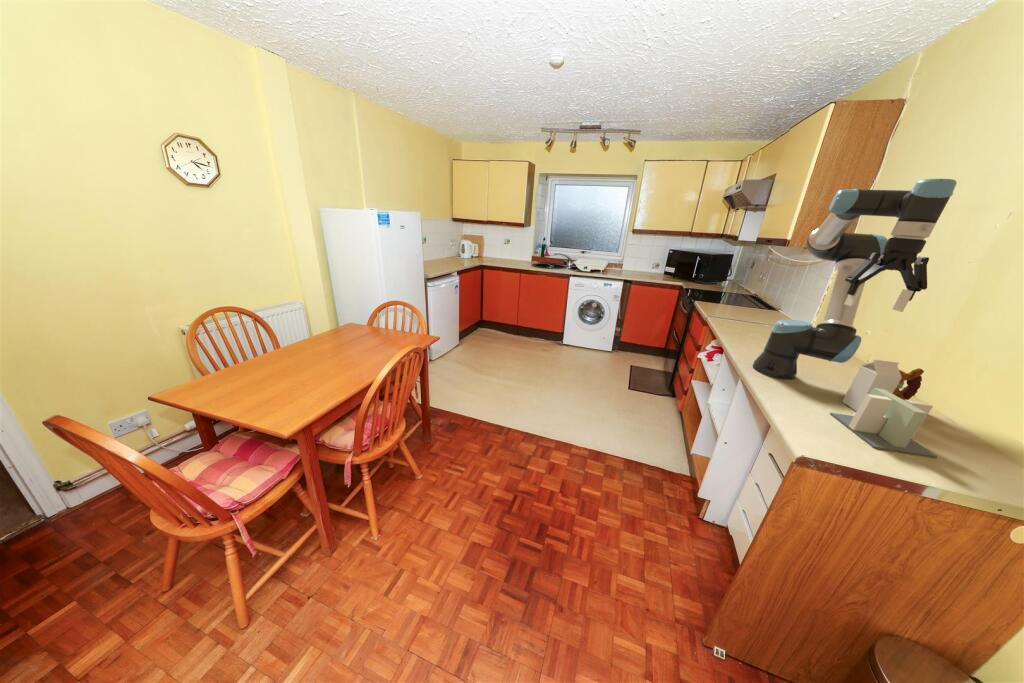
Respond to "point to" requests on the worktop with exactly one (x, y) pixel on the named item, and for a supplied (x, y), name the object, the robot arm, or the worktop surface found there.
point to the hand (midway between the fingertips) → (872, 308)
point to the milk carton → (872, 381)
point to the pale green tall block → (899, 419)
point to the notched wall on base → (880, 424)
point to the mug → (909, 384)
